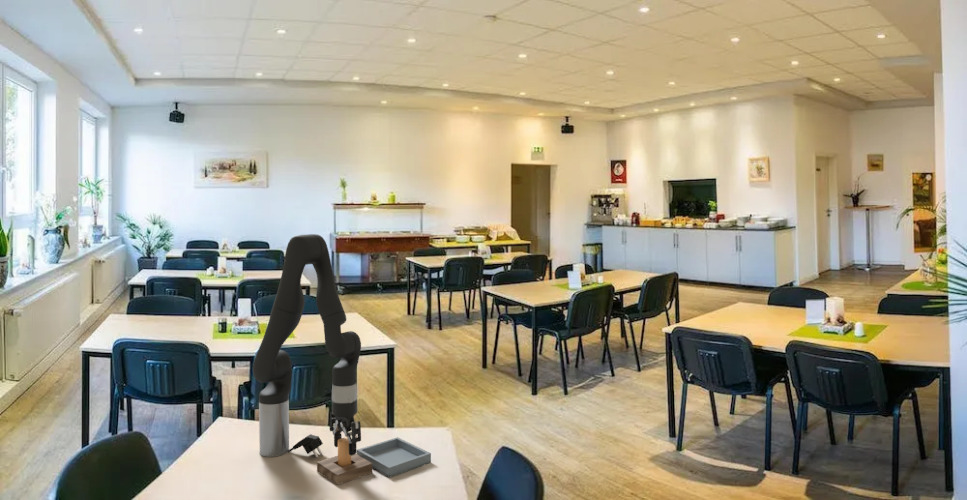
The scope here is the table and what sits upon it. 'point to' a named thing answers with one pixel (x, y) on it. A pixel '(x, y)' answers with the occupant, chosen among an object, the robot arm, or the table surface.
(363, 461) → the wooden square hole block
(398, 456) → the slate tray
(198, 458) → the table surface
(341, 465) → the orange plug
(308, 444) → the power plug
